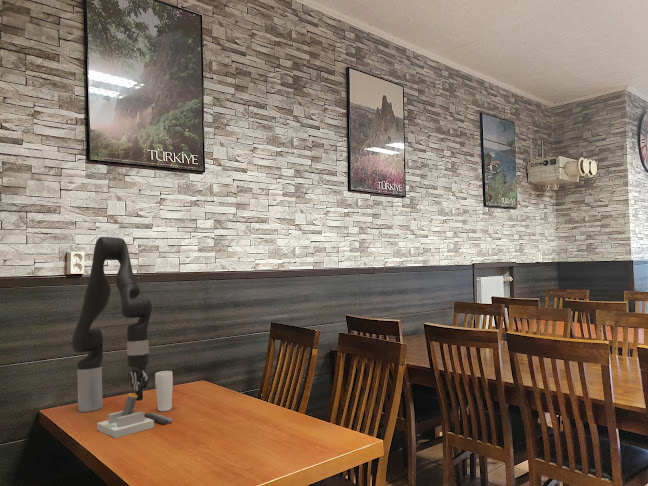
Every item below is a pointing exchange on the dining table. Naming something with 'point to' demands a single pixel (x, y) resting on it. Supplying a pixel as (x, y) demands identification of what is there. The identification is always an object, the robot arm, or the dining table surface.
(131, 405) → the lever
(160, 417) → the cable bundle
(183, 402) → the dining table surface
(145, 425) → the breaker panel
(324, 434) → the dining table surface
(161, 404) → the drinking glass
